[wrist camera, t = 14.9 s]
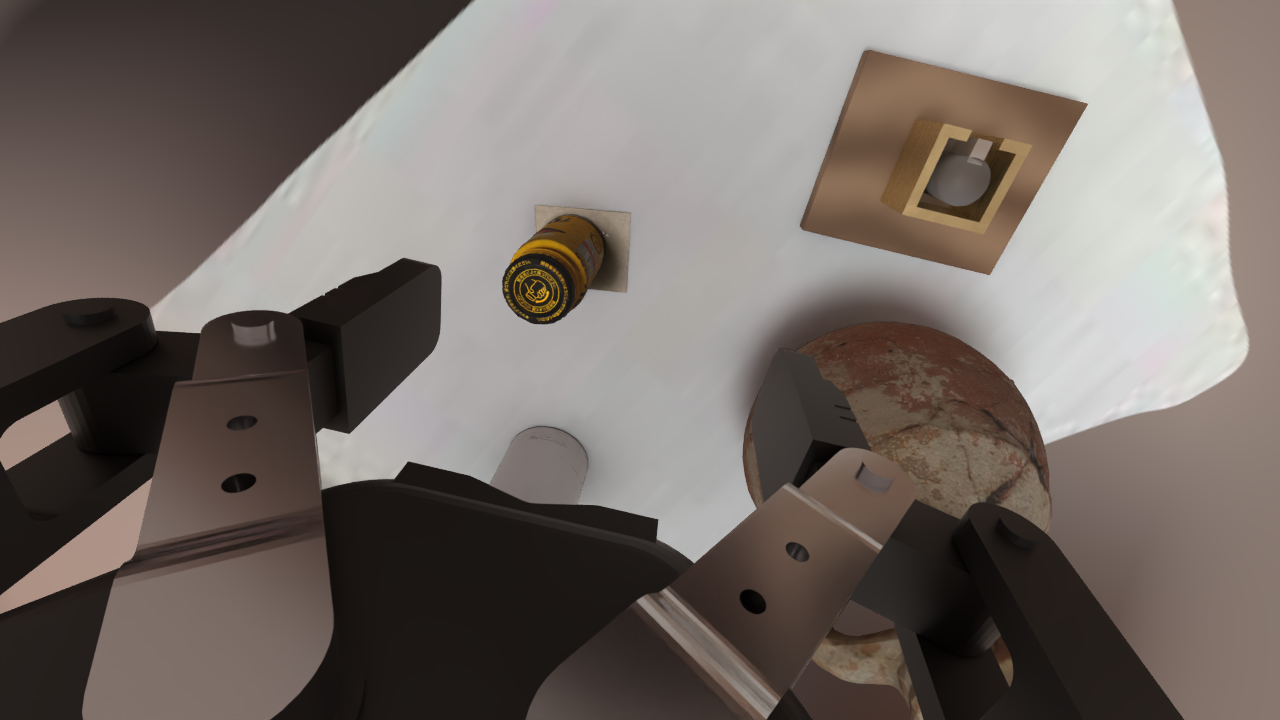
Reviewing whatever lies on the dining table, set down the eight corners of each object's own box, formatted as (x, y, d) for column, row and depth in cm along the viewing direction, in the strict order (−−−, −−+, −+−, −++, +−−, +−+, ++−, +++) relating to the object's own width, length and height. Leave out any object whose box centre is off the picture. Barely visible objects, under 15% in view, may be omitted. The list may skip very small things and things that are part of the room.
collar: (952, 218, 40) (983, 234, 36) (879, 201, 40) (902, 214, 36) (993, 138, 38) (1032, 145, 33) (915, 119, 38) (944, 123, 33)
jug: (994, 425, 50) (1319, 792, 24) (792, 501, 58) (872, 849, 31) (917, 241, 43) (1267, 480, 17) (695, 354, 50) (694, 648, 24)
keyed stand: (980, 269, 44) (1023, 296, 38) (799, 225, 43) (815, 246, 38) (1074, 103, 37) (1142, 105, 32) (863, 51, 37) (893, 44, 31)
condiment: (535, 204, 45) (485, 240, 34) (630, 212, 44) (610, 251, 34) (538, 283, 48) (494, 337, 38) (626, 291, 48) (606, 348, 37)
